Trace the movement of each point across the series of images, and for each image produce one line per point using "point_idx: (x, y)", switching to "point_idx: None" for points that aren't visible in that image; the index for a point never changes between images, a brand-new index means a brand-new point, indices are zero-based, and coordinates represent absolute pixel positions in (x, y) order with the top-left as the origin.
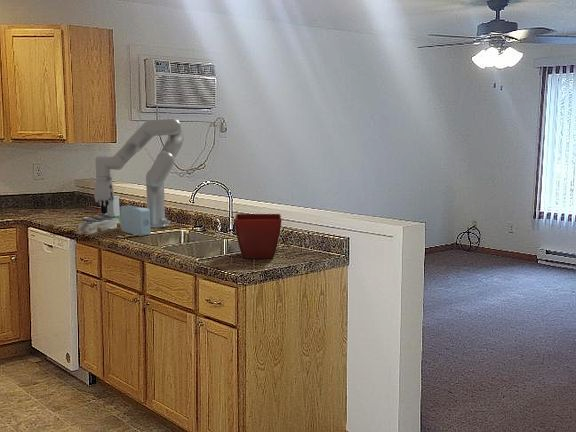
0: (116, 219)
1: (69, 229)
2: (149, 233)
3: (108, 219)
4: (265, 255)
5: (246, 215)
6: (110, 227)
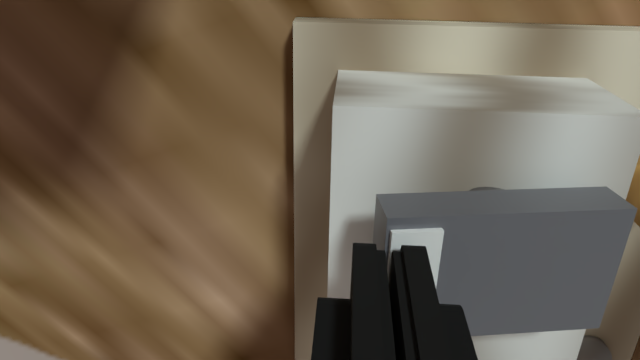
0: (627, 185)
1: (46, 347)
2: None
3: None
4: None
5: None
6: None
